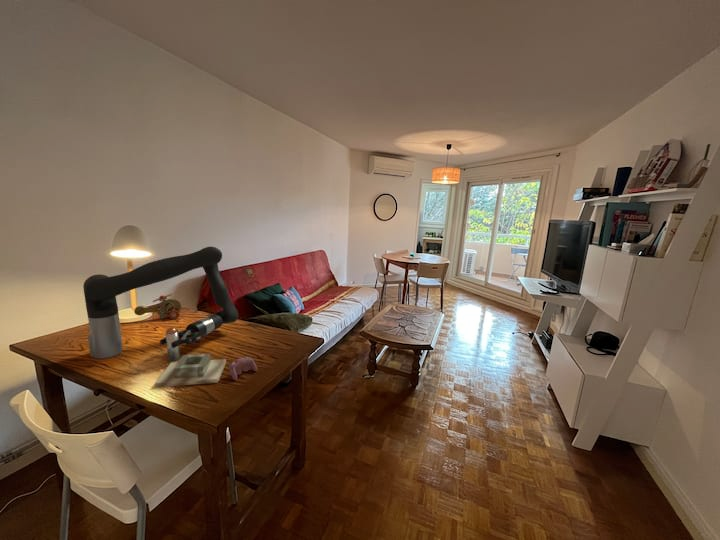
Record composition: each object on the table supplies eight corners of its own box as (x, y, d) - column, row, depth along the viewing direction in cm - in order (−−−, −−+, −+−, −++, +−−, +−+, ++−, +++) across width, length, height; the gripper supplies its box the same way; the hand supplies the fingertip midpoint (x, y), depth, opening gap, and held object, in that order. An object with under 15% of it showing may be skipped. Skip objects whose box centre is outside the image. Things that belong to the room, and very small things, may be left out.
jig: (155, 387, 99) (154, 372, 98) (171, 365, 113) (170, 352, 111) (217, 382, 104) (217, 369, 103) (226, 362, 117) (225, 350, 116)
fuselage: (166, 362, 115) (163, 330, 112) (170, 357, 118) (167, 325, 116) (177, 361, 116) (174, 329, 113) (181, 356, 119) (178, 325, 116)
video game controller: (253, 371, 115) (249, 354, 116) (259, 370, 112) (254, 353, 113) (229, 381, 108) (225, 363, 108) (235, 381, 105) (230, 362, 105)
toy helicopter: (181, 318, 157) (180, 294, 154) (134, 324, 146) (131, 299, 143) (181, 313, 164) (180, 290, 161) (136, 319, 153) (133, 294, 150)
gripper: (188, 317, 130) (151, 332, 114) (213, 323, 126) (179, 338, 110) (189, 333, 132) (153, 349, 116) (214, 338, 128) (181, 356, 112)
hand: (166, 344), depth 113 cm, fingers open, 5 cm apart
